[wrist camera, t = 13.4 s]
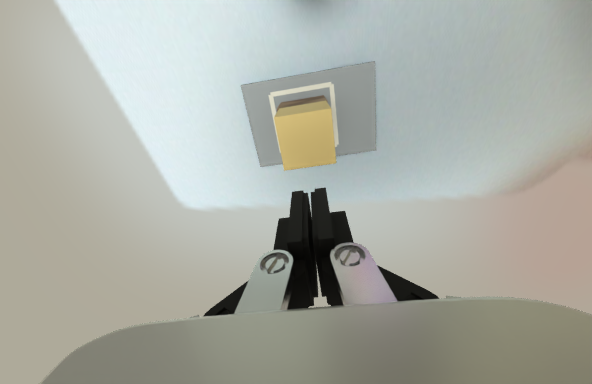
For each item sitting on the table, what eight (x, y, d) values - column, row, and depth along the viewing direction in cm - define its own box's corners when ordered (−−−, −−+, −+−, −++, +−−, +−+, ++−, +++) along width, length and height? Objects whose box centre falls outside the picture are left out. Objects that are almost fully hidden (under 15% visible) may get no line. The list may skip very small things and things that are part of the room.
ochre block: (325, 100, 28) (331, 108, 23) (330, 146, 30) (336, 163, 25) (279, 108, 28) (273, 117, 23) (287, 152, 31) (284, 170, 26)
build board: (373, 61, 32) (375, 61, 31) (374, 148, 38) (376, 150, 37) (242, 85, 34) (240, 85, 33) (261, 164, 39) (260, 167, 38)
